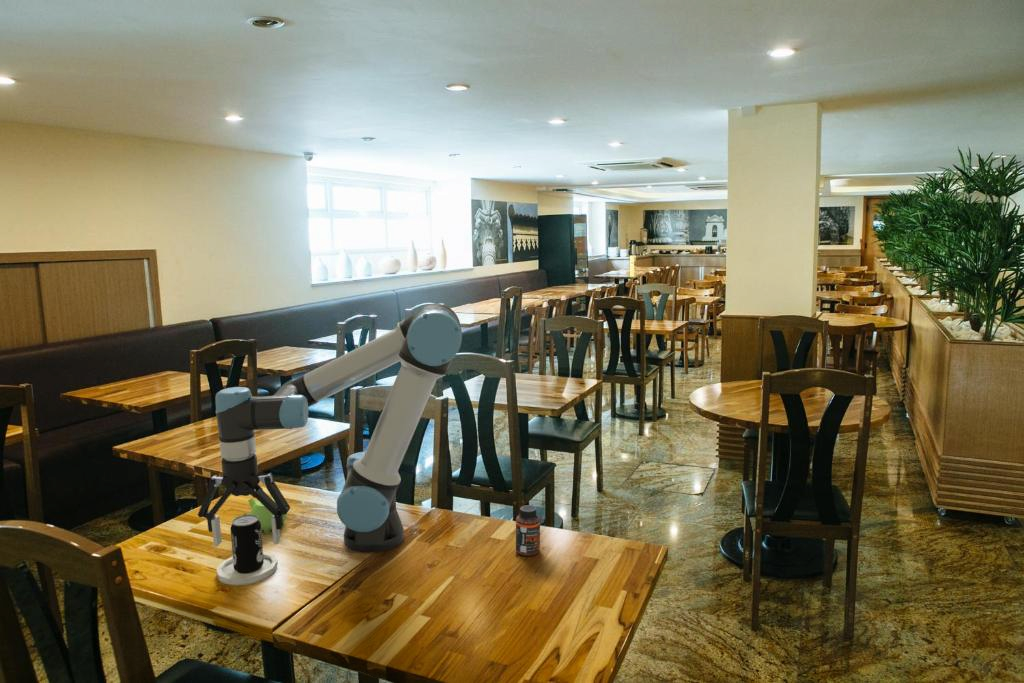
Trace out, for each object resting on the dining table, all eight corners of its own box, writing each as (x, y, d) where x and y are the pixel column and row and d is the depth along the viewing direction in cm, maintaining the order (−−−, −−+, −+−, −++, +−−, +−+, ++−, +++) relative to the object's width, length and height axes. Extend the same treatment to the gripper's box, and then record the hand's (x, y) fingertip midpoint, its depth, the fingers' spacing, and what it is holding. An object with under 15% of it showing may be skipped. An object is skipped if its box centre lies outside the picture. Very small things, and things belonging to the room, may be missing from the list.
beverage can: (253, 576, 158) (250, 526, 156) (228, 573, 159) (223, 524, 157) (269, 562, 165) (265, 514, 162) (244, 560, 166) (240, 512, 164)
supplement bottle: (527, 559, 167) (527, 515, 165) (510, 551, 171) (510, 507, 169) (545, 551, 171) (545, 508, 169) (528, 543, 175) (528, 501, 173)
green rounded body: (292, 516, 192) (291, 487, 190) (288, 534, 181) (286, 504, 179) (250, 520, 190) (247, 491, 188) (243, 539, 179) (240, 508, 177)
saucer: (283, 557, 169) (283, 551, 168) (266, 584, 156) (266, 578, 156) (230, 558, 168) (229, 552, 168) (208, 586, 156) (207, 579, 155)
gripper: (298, 448, 161) (305, 533, 165) (190, 452, 161) (200, 537, 164) (289, 459, 154) (297, 548, 158) (175, 463, 153) (186, 552, 157)
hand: (247, 543), depth 161 cm, fingers open, 13 cm apart
